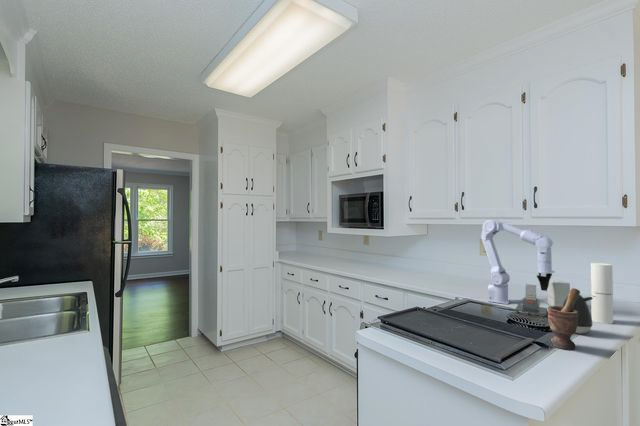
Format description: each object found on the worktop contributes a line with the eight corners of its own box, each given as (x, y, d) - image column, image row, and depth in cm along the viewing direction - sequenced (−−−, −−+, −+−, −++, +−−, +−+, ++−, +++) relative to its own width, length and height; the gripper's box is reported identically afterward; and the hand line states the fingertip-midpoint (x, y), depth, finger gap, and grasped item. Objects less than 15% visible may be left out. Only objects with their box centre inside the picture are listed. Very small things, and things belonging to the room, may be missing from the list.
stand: (515, 312, 156) (514, 300, 156) (518, 307, 166) (518, 295, 166) (545, 317, 149) (545, 304, 149) (547, 311, 158) (547, 298, 158)
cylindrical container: (608, 324, 138) (607, 265, 138) (588, 320, 144) (587, 263, 145) (616, 322, 141) (615, 264, 142) (596, 317, 148) (595, 262, 148)
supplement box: (570, 308, 163) (570, 283, 163) (553, 307, 164) (553, 282, 164) (562, 304, 170) (562, 280, 170) (546, 304, 171) (546, 279, 171)
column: (525, 302, 157) (525, 285, 157) (526, 301, 160) (526, 283, 160) (535, 304, 154) (535, 286, 154) (536, 302, 158) (536, 285, 158)
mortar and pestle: (555, 337, 124) (555, 284, 124) (584, 344, 117) (583, 288, 117) (544, 345, 117) (543, 289, 117) (574, 353, 110) (573, 293, 110)
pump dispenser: (596, 338, 123) (595, 297, 123) (562, 333, 128) (561, 294, 129) (590, 329, 132) (589, 292, 132) (558, 325, 137) (557, 289, 137)
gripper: (553, 263, 153) (554, 292, 152) (555, 260, 164) (555, 287, 164) (535, 262, 157) (535, 290, 157) (538, 259, 168) (538, 285, 168)
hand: (544, 289), depth 161 cm, fingers open, 7 cm apart
